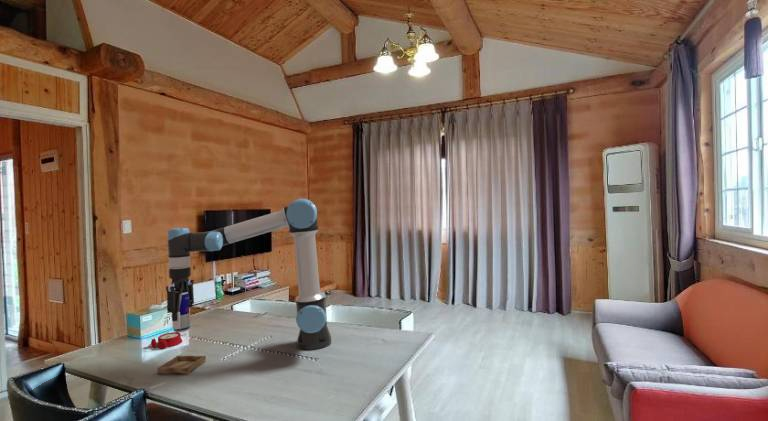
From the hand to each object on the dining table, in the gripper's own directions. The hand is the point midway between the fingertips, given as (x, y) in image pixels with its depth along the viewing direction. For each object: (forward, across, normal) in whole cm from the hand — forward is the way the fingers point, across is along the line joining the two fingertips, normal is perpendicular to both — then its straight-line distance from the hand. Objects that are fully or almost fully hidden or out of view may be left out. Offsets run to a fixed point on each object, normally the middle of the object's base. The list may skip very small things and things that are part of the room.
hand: (181, 326), depth 150 cm
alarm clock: (+17, -24, -25) cm, 38 cm away
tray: (+16, 0, 0) cm, 16 cm away
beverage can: (+2, 0, 0) cm, 2 cm away
